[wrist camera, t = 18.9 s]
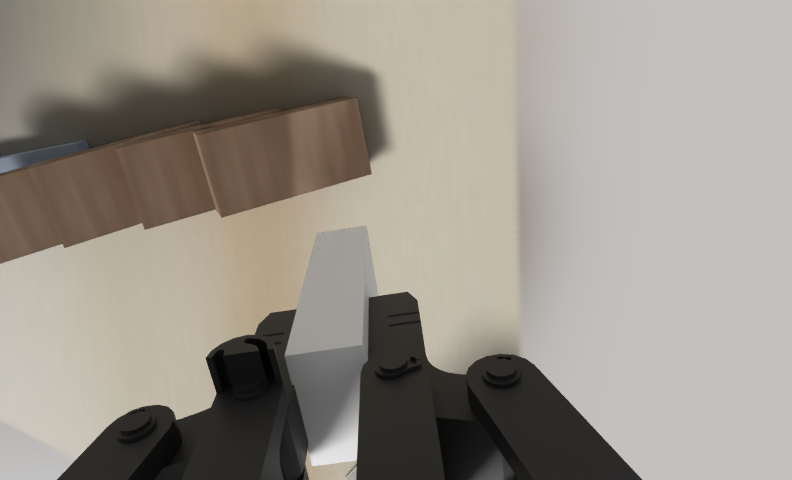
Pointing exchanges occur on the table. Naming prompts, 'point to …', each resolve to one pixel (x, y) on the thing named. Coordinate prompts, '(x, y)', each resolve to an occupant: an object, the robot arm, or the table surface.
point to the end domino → (283, 154)
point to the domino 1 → (40, 155)
